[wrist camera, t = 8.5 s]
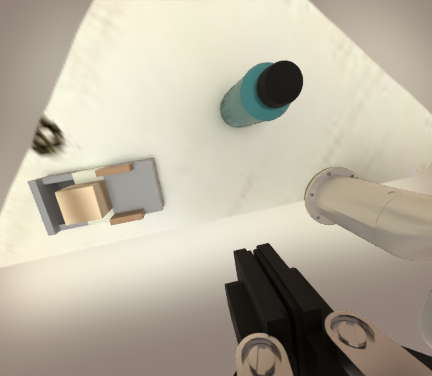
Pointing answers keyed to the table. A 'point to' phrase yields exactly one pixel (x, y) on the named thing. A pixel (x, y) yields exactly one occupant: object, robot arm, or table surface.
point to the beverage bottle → (262, 94)
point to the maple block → (84, 202)
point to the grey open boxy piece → (117, 188)
